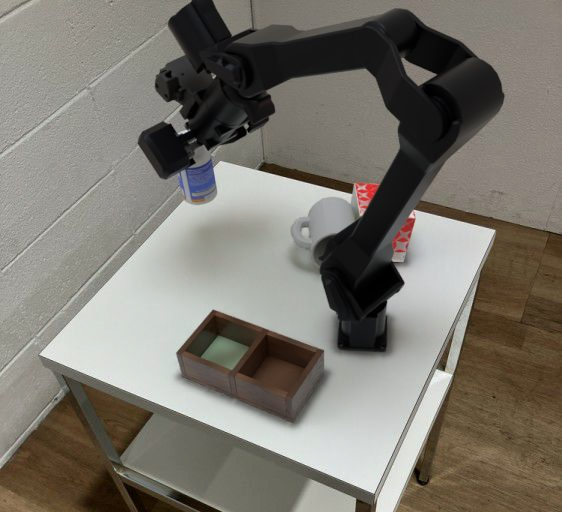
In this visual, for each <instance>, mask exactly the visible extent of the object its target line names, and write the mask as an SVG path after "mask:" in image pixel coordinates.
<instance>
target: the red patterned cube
mask: <svg viewBox="0 0 562 512" xmlns="http://www.w3.org/2000/svg"><path fill="white" fill-rule="evenodd" d="M379 185H380V183H364V182H354V183H353V187H352V194H351V199H350V204H351V206H352V207H353V210H354V213H355V218H356V220H357V219H359V218H360V217H362V215H363V213H364V212H365V210H366V208H367V206H368V205H369V203H370V201H371V199H372V197H373V196H374V194H375V192H376V190H377V188H378V187H379ZM416 220H417V219H416V213H415V209H414V210H413V211H412V213H411V214H410V216H409V217H408V219H407V220H406V222H405V223H404V225H403V226H402V228H401V229H400V231H399V232H398V234H397V235H396V237H395V238H394V240H393V242H392V245H393V249H394V254H393V257H392V259H391V260H392V261H393V263H404V261H405V258H406V255H407V250H408V248H409V244H410V241H411V237H412V234H413V230H414V226H415V223H416Z"/></svg>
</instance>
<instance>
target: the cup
mask: <svg viewBox="0 0 562 512" xmlns="http://www.w3.org/2000/svg"><path fill="white" fill-rule="evenodd" d="M354 221H356V218H355V213H354V210H353V207H352V206H351V202H349V201H347V200H346V199H344V198H342V197H339V196H327V197H324V198H322V199H319V200H318V201H316V202H315V203H314V204H312V206H311V207H310V209H309V211H308V213H307V216H300V217H298V218H296V219H295V220H294V221H293V223H292V224H291V226H290V236H291V238H292V242H293V243H294V244H295V245H296V246H297V247H299V248H300V249H303V250H308V251H310V256H311V260H312V262H313V264H314V265H315V266H316V268H318V269H320V265H321V263H322V261H321V260H319V259H318V257H320V256H321V255H322V254H324V252H325V248H326V244H327V242H328V241H329V239H330V238H331V237H333V236H334V235H336V234H337V233H339V232H340V231H341V230H343V229H344V228H346V227H347V226H349V225H350V224H352V223H353V222H354ZM304 228H307V229H308V237H305V236H304V235H303V233H302V229H304Z"/></svg>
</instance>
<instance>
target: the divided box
mask: <svg viewBox="0 0 562 512" xmlns="http://www.w3.org/2000/svg"><path fill="white" fill-rule="evenodd" d="M175 355H176V359H177V363H178V366H179V370H180V375H181V377H183V378H185V379H187V380H190V381H193V382H195V383H198V384H200V385H202V386H204V387H207V388H208V389H212V390H213V391H217V392H219V393H221V394H224V395H227V396H228V397H230V398H233V399H236V400H238V401H240V402H243V403H245V404H247V405H250V406H252V407H254V408H257V409H259V410H262V411H264V412H267V413H268V414H271V415H274V416H276V417H278V418H281V419H284V420H286V421H288V422H291V423H294V422H295V421H296V419H297V417H298V416H299V414H300V412H301V411H302V409H303V408H304V406H305V405H306V403H307V402H308V400H309V398H310V397H311V395H312V394H313V392H314V391H315V389H316V388H317V386H318V384H319V383H320V382H321V380H322V378H323V376H324V375H325V349H321V348H319V347H316V346H314V345H311V344H308V343H307V342H303V341H300V340H297V339H294V338H293V337H289V336H286V335H284V334H281V333H278V332H275V331H273V330H270V329H267V328H264V327H262V326H260V325H257V324H254V323H252V322H249V321H246V320H244V319H241V318H238V317H235V316H232V315H230V314H227V313H224V312H222V311H219V310H216V309H212V310H211V311H210V312H209V313H208V314H207V315H206V317H205V318H204V319H203V320H202V322H201V323H200V324H199V325H198V326H197V327H196V328H195V330H194V331H193V332H192V333H191V334H190V336H189V337H188V338H187V339H186V340H185V341H184V343H183V344H182V345H181V346H180V347H179V349H177V351H176V352H175Z"/></svg>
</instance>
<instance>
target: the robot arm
mask: <svg viewBox="0 0 562 512" xmlns="http://www.w3.org/2000/svg"><path fill="white" fill-rule="evenodd" d="M167 27H168V29H169V31H170V33H171V34H172V36H173V37H174V39H175V41H176V42H177V44H178V45H179V47H180V48H181V50H182V52H183V53H184V55H182V56H180V57H177V58H175V59H173V60H171V61H169V62H166V64H165V65H164V67H162V68H160V69H159V73H158V74H155V79H154V89H155V92H156V93H157V94H158V95H159V96H160V97H161V98H162V100H164V101H165V102H166V103H170V102H173V101H174V102H177V103H178V104H179V105H180V106H181V108H180V109H179V111H178V112H179V114H180V115H181V117H182V119H183V120H185V121H186V120H187V121H186V122H185V123H184V124H183V126H184V128H185V130H187V131H188V132H186V133H184V134H182V133H181V134H178V133H179V132H177V131H176V129H175V128H174V126H173V124H172V123H171V122H170V123H168V122H167V121H159V122H158V123H156V124H154V125H152V126H150V127H148V128H146V129H145V130H142V131H141V132H140V134H139V135H138V137H137V145H138V147H139V148H140V150H141V151H142V153H143V154H144V156H145V157H146V159H147V161H148V162H149V164H150V165H151V166H152V168H153V170H154V171H155V173H156V174H157V175H158V178H159V179H162V180H165V181H166V180H169V179H171V178H172V177H174V176H176V175H177V174H178V173H179V172H181V171H183V170H185V169H187V168H189V167H190V166H192V165H194V164H196V162H195V160H194V159H193V157H194V155H195V150H196V149H198V148H200V147H202V146H203V145H204V146H205V147H206V149H207V151H210V152H211V150H213V149H215V148H217V147H220V146H225V145H230V144H234V143H236V142H237V141H239V140H241V139H243V138H245V137H247V135H248V134H252V133H254V132H255V131H257V130H260V129H261V128H263V127H264V126H265V125H266V124H268V122H269V121H270V117H271V116H273V115H274V114H276V105H275V103H274V102H273V101H274V100H272V95H271V94H270V93H268V91H269V90H271V89H273V88H275V87H277V86H280V85H281V84H283V83H285V82H288V81H290V80H292V79H301V78H307V77H315V76H321V75H329V74H337V73H344V72H345V73H346V72H352V71H360V70H366V71H367V72H369V74H370V75H371V76H373V77H374V79H375V81H376V85H377V86H378V89H379V92H380V96H381V98H382V101H383V103H384V106H385V108H386V110H387V111H388V112H389V113H390V114H391V115H392V116H393V117H394V118H395V119H396V120H397V122H399V123H398V126H397V137H398V138H397V139H398V145H399V148H398V151H397V152H396V155H395V157H394V158H393V160H392V161H391V164H390V165H389V167H388V169H387V171H386V172H385V174H384V176H383V178H382V179H381V181H380V183H379V184H380V185H379V187H378V188H377V190H376V192H375V194H374V196H373V197H372V199H371V201H370V203H369V205H368V206H367V208H366V210H365V212H364V213H363V215H362V217H360V218H359V219H357V220H356V221H354V222H353V223H352V224H350V225H349V226H347V227H346V228H344V229H343V230H341V231H340V232H339V233H337V234H336V235H334V236H333V237H331V238H330V239H329V241H328V242H327V244H326V248H325V252H324V254H322V255H321V256H320V257H318V259H319V260H321V261H322V263H321V265H320V268H319V275H321V276H320V278H321V283H322V287H323V291H324V293H325V298H326V301H327V303H328V307H329V309H330V310H332V311H333V312H335V314H336V315H337V317H336V318H337V320H338V331H337V342H336V347H337V349H338V350H349V351H350V350H351V351H365V352H367V351H368V352H386V351H387V348H388V315H387V310H388V308H387V307H388V300H390V299H391V298H392V297H394V296H395V295H396V294H399V292H400V291H401V290H402V289H403V287H404V286H405V280H404V278H403V277H402V275H401V273H400V272H399V270H398V268H397V266H396V265H395V262H393V261H392V260H391V259H392V257H393V254H394V249H393V245H392V242H393V240H394V238H395V237H396V235H397V234H398V232H399V231H400V229H401V228H402V226H403V225H404V223H405V222H406V220H407V219H408V217H409V216H410V214H411V213H412V211H413V210H414V211H415V208H416V207H417V205H418V204H419V202H420V201H421V200H422V198H423V196H424V195H425V193H426V192H427V190H428V189H429V187H431V185H432V183H433V182H434V180H435V178H436V177H437V176H438V174H439V172H440V171H441V169H442V168H443V166H444V165H445V164H446V162H447V161H448V160H449V159H450V158H451V157H452V156H453V155H454V154H456V153H457V152H458V151H459V150H460V149H461V148H463V147H464V146H465V145H466V144H467V143H468V142H470V141H471V140H472V139H473V138H474V137H475V136H476V135H477V134H478V133H480V132H481V131H482V130H483V128H484V127H486V126H487V125H488V124H489V123H490V122H491V121H492V120H493V119H494V118H495V117H496V116H497V115H498V114H499V112H500V111H501V109H502V108H503V105H504V102H505V95H506V94H505V93H504V92H503V84H502V80H501V78H500V76H499V73H498V72H497V70H495V68H494V67H493V65H491V64H490V63H489V62H487V61H486V60H484V59H483V58H482V59H481V58H480V57H479V56H478V55H476V54H475V53H474V52H473V50H471V49H470V48H469V47H468V46H467V45H466V44H465V43H464V42H463V41H461V40H459V39H457V38H455V37H452V36H451V35H448V34H446V33H444V32H441V31H439V30H436V29H434V28H432V27H430V26H428V25H426V24H425V23H424V22H423V21H422V20H421V19H420V18H419V17H418V16H417V15H416V14H414V12H412V11H411V10H409V9H407V8H399V7H398V8H397V7H394V8H391V9H389V10H388V11H386V12H383V13H381V14H377V15H371V16H367V17H362V18H358V19H353V20H349V21H343V22H339V23H335V24H329V25H326V26H321V27H316V28H315V27H314V28H311V29H306V30H305V29H304V30H302V29H297V28H296V27H294V26H293V25H292V24H291V25H289V24H275V23H274V24H269V25H267V26H264V27H263V28H255V27H249V28H247V29H245V30H242V31H241V32H238V33H236V34H234V35H233V34H232V32H231V31H230V29H229V27H228V26H227V24H226V23H225V20H224V19H223V18H222V16H221V14H220V12H219V11H218V9H217V7H216V5H215V2H214V0H191V1H190V2H188V3H187V4H185V5H183V7H182V8H180V9H179V10H178V11H177V12H176V13H175V14H173V15H171V16H170V18H169V19H168V22H167ZM402 59H403V60H405V61H406V62H408V63H409V64H412V65H413V66H416V67H418V68H421V69H423V70H425V71H428V72H430V73H432V74H434V76H433V77H431V78H429V79H427V80H426V81H424V82H422V83H421V84H419V85H418V84H417V83H416V82H415V81H414V80H413V79H412V78H411V77H410V76H409V75H408V73H407V71H406V69H405V66H404V63H403V60H402ZM213 75H214V77H213ZM246 124H247V126H248V127H247V128H246V127H245V125H246ZM189 130H190V131H189ZM195 139H197V140H196V141H194V142H191V141H193V140H195ZM190 142H191V143H190Z"/></svg>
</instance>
